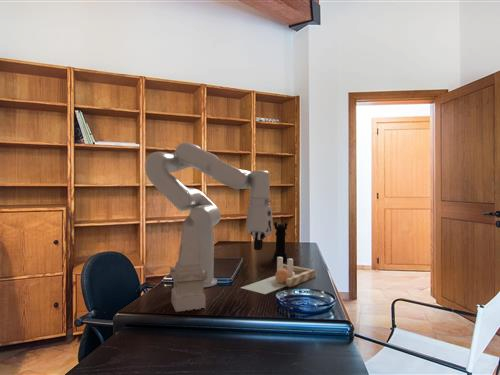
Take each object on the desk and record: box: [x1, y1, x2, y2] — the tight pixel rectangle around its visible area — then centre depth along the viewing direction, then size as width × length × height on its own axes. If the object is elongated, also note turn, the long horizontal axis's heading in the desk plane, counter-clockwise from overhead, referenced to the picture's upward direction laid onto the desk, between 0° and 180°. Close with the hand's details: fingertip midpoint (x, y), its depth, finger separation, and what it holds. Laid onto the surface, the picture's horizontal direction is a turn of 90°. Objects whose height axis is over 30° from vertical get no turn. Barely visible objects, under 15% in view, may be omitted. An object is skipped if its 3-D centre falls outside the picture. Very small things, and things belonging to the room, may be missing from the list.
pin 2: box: [286, 258, 294, 277], centre depth 149 cm, size 2×2×9 cm
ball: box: [274, 269, 290, 284], centre depth 144 cm, size 6×6×6 cm
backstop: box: [283, 263, 317, 288], centre depth 153 cm, size 21×18×3 cm
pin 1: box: [276, 257, 284, 272], centre depth 152 cm, size 2×2×9 cm
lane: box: [240, 274, 298, 295], centre depth 147 cm, size 34×12×1 cm, turn 141°
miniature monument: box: [169, 215, 207, 312], centre depth 117 cm, size 10×10×30 cm
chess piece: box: [272, 221, 289, 262], centre depth 190 cm, size 8×8×20 cm
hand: (258, 249), depth 137 cm, fingers closed
